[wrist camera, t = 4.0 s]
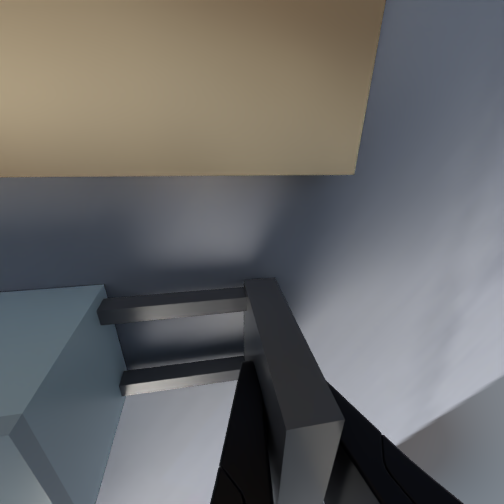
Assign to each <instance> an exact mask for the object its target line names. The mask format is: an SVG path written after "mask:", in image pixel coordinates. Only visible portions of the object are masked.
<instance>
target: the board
mask: <svg viewBox="0 0 504 504" xmlns="http://www.w3.org/2000/svg"><path fill="white" fill-rule="evenodd" d="M385 2H386V0H0V177H115V176H253V175H354V173H355V168H356V162H357V157H358V151H359V146H360V140H361V135H362V129H363V124H364V118H365V113H366V107H367V102H368V96H369V91H370V85H371V80H372V74H373V69H374V63H375V57H376V52H377V46H378V41H379V35H380V30H381V24H382V19H383V13H384V8H385Z"/></svg>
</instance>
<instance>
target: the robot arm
mask: <svg viewBox="0 0 504 504" xmlns="http://www.w3.org/2000/svg"><path fill="white" fill-rule="evenodd" d="M326 382H327V381H326ZM327 384H328V386H329V388H330V390H331V392H332V394H333V396H334V398H335V400H336V402H337V404H338V406H339V408H340V410H341V412H342V415H343V417H344V419H345V422H344V425H343V429H342V433H341V437H340V441H339V444H338V448H337V452H336V456H335V459H334V463H333V467H332V471H331V474H330V478H329V482H328V486H327V489H326V493H325V497H324V503H325V504H463V503H462V502H461V501H460V500H459V499H457V498H456V497H455V496H454V495H452V494H451V493H450V492H448V491H447V490H446V489H445V488H444V487H442V486H441V485H440V484H439V483H437V482H436V481H435V480H434V479H433V478H432V477H430V476H429V475H428V474H427V473H426V472H424V471H423V470H422V469H421V468H420V467H418V466H417V465H416V464H415V463H414V462H413V461H411V460H410V459H409V458H408V457H407V456H406V455H405V454H403V452H402V451H400V450H399V449H398V448H397V447H396V446H395V445H394V444H393V443H392V442H391V441H390V440H389V439H388V438H386V437H385V436H384V435H382V434H381V432H380V431H379V430H378V429H377V428H376V427H375V426H374V425H373V424H372V423H370V422H369V421H368V420H367V419H366V418H365V417H364V416H363V415H362V414H361V413H360V412H359V411H358V410H357V409H356V408H355V407H354V406H352V405H351V404H350V403H349V402H348V401H347V400H346V399H345V398H344V397H343V396H342V395H341V394H340V393H339V392H338V391H337V390H336V389H334V388H333V387H332V386H331V385H330V384H329V383H328V382H327ZM210 504H274V499H273V489H272V480H271V470H270V461H269V451H268V441H267V432H266V422H265V413H264V403H263V395H262V391H261V387H260V384H259V380H258V376H257V373H256V369H255V365H254V362H253V360H248V361H243V362H242V363H241V368H240V372H239V377H238V381H237V386H236V390H235V395H234V400H233V404H232V409H231V413H230V418H229V423H228V427H227V432H226V436H225V441H224V445H223V450H222V455H221V459H220V464H219V468H218V472H217V477H216V481H215V486H214V490H213V494H212V498H211V502H210Z"/></svg>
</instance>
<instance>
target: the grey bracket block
mask: <svg viewBox="0 0 504 504" xmlns="http://www.w3.org/2000/svg"><path fill="white" fill-rule="evenodd" d="M240 311H244V356H237V357H229V358H222V359H214V360H206V361H198V362H191V363H183V364H175V365H167V366H159V367H152V368H144V369H136V370H128V371H127V368H126V365H125V361H124V357H123V354H122V350H121V346H120V342H119V339H118V335H117V331H116V328H115V324H120V323H130V322H140V321H150V320H160V319H170V318H180V317H190V316H200V315H210V314H220V313H230V312H240ZM248 360H253V362H254V365H255V369H256V373H257V376H258V380H259V384H260V387H261V391H262V395H263V403H264V413H265V422H266V432H267V441H268V451H269V461H270V470H271V480H272V489H273V499H274V504H323V501H324V497H325V493H326V489H327V486H328V482H329V478H330V474H331V471H332V467H333V463H334V459H335V456H336V452H337V448H338V444H339V441H340V437H341V433H342V429H343V425H344V422H345V419H344V417H343V415H342V412H341V410H340V408H339V406H338V404H337V402H336V400H335V398H334V396H333V394H332V392H331V390H330V388H329V386H328V384H327V382H326V380H325V378H324V376H323V374H322V372H321V370H320V368H319V366H318V364H317V362H316V360H315V358H314V356H313V354H312V352H311V350H310V348H309V346H308V344H307V342H306V340H305V338H304V336H303V334H302V332H301V330H300V328H299V326H298V324H297V322H296V320H295V318H294V316H293V314H292V312H291V310H290V308H289V306H288V304H287V302H286V300H285V298H284V296H283V294H282V292H281V290H280V287H279V285H278V283H277V281H276V279H275V278H264V279H252V280H244V287H236V288H224V289H212V290H201V291H189V292H177V293H165V294H153V295H141V296H130V297H118V298H107V294H106V291H105V287H104V285H91V286H78V287H65V288H51V289H38V290H25V291H12V292H0V504H95V503H96V500H97V496H98V493H99V489H100V486H101V482H102V479H103V475H104V472H105V468H106V464H107V461H108V457H109V454H110V450H111V447H112V443H113V440H114V436H115V433H116V429H117V426H118V422H119V419H120V415H121V412H122V408H123V405H124V401H125V398H126V396H129V395H135V394H142V393H149V392H156V391H163V390H170V389H177V388H184V387H191V386H198V385H205V384H212V383H219V382H226V381H233V380H238V377H239V372H240V368H241V363H242V362H243V361H248Z"/></svg>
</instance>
